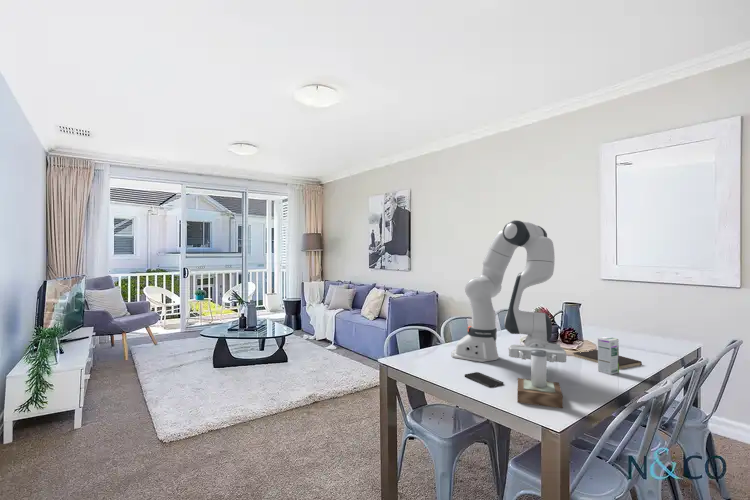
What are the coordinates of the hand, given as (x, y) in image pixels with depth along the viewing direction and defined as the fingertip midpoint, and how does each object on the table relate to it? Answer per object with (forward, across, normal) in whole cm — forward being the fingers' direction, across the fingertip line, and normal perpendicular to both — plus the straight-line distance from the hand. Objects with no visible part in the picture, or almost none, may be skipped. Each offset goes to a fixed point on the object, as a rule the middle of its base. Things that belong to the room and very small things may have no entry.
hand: (537, 358), depth 144 cm
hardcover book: (-56, +32, +13) cm, 66 cm away
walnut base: (+5, 0, +12) cm, 14 cm away
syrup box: (-37, +29, +12) cm, 49 cm away
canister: (+5, 0, +8) cm, 10 cm away
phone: (-6, -20, +13) cm, 25 cm away
